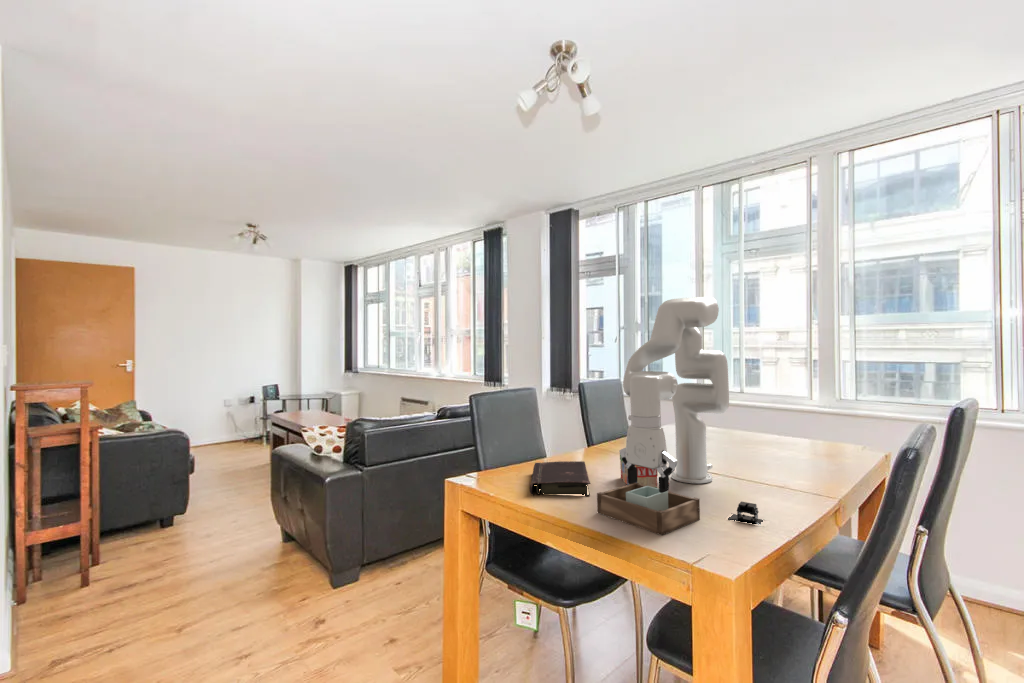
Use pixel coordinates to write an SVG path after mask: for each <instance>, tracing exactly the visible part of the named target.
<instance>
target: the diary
mask: <svg viewBox="0 0 1024 683" xmlns="http://www.w3.org/2000/svg"><path fill="white" fill-rule="evenodd" d="M534 485H537V487H536V493H537V494H538V493H539V489H541V491H540V493H541V494H542V493H544V494H582V495H584V494H585V496H586V497H590V496H591V494H590V492H589V495H590V496H589V495H587V486H588V487H589V485H592V484H591V481H590V479H589V474H588V470H587V465H586V462H585V461H576V460H575V461H574V460H573V461H571V460H569V461H568V460H567V461H561V460H560V461H546V462H535V463H534V465H533V470H532V474H531V480H530V485H529V493H530V495H531V494H533V489H534V490H535V487H534ZM586 485H587V486H586ZM533 495H534V494H533Z"/></svg>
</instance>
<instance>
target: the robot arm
mask: <svg viewBox="0 0 1024 683" xmlns="http://www.w3.org/2000/svg"><path fill="white" fill-rule="evenodd" d="M719 311H720V310H719V305H718V302H717V300H716V299H715V298H714V297H712V296H695V297H681V298H680V297H679V298H672V299H668V300H665V301H663V303H661V305H660V306H658V309H657V312H656V316H655V319H654V323H653V327H652V331H651V335H650V338H649V340H647V341H646V342H645V343H644V344H642V345H641V346H639V348H637V349H636V351H634V353H632V355H631V356H630V358H629V359H628V361H627V365H626V367H625V372H624V376H623V381H622V382H623V383H622V387H623V391H624V393H625V394H626V396H628V397H630V402H629V403H630V415H628V418H627V420H628V421H630V425H629V426H628V429H627V433H626V442H625V444H626V445H625V447H623V448H621V449H620V450H619V452H618V453H619V456H620V455H621V457H622V461H623V462H624V464H625V467H626V468H627V469H628V484H633V483H636V482H637V467H635V465H637V466H641V467H646V468H650V469H657V473H658V475H659V476H658V489H659V492H660V493H663V492H666V491H668V492H669V490H670V489H669V488H670V476H671V478H672V480H675V481H677V482H681V483H686V484H709V483H711V482H712V481H713V477H712V475H711V474H709V473H708V471H709V470H711V469H713V464H711V463H708V462H707V460H708V459H707V426H706V423H705V421H704V420H703V418H702V417H701V415H700V414H701V413H702V414H724V413H726V412H727V411H728V409H729V405H730V386H729V385H730V384H729V365H728V360H727V357H726V354H725V353H724V352H722V351H721V350H716V349H714V350H713V349H712V350H711V349H706V350H705V349H703V340H702V334H701V332H700V330H699V329H698V328H705V327H708V326H710V325H712V324H713V323H715V322H716V321H717V319H718V316H719ZM671 355H674V362H675V372H676V375H677V376H678V377H679V378H681V379H686V380H709V381H710V382H711V383H701V382H684V383H683V382H681V383H679V384H678V380H677V378H676V376H675V375H674V374H673V373H671V372H669V371H654V370H651V371H649V370H648V371H647V370H644V369H645V368H646V367H647V366H648V365H651V364H652V363H654V362H657V361H659V360H662V359H665V358H667V357H669V356H671ZM669 399H671V401H672V406H673V412H674V423H675V424H674V425H675V427H674V428H675V431H674V432H675V433H674V434H675V458H674V457H673V456H672V455H670V454H669V453H668V450H667V449H668V447H667V441H666V436H665V432H664V428H663V427H662V418H661V417H662V416H661V415H662V414H661V400H669ZM667 464H668V466H667Z"/></svg>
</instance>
